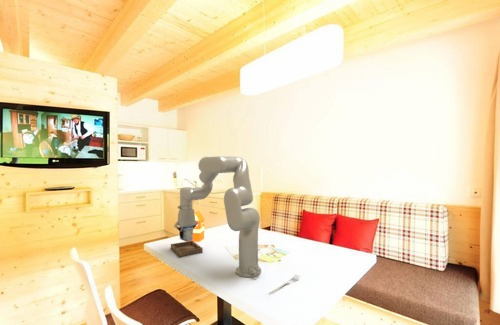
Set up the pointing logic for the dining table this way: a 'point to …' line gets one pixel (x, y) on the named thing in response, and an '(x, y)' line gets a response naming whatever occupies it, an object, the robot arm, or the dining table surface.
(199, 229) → the orange juice
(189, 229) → the medicine box
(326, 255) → the dining table surface
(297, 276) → the fork
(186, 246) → the walnut tray
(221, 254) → the dining table surface
